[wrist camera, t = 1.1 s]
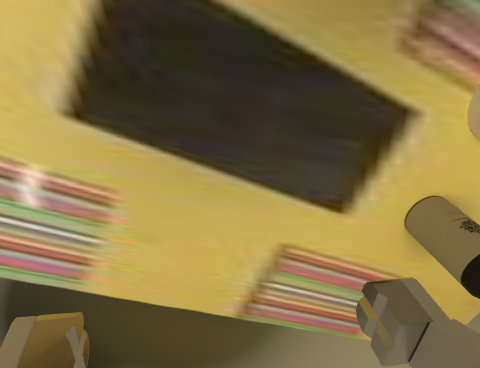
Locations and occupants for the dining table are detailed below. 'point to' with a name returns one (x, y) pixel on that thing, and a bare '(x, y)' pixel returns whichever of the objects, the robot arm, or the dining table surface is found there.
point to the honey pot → (474, 113)
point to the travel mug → (448, 239)
